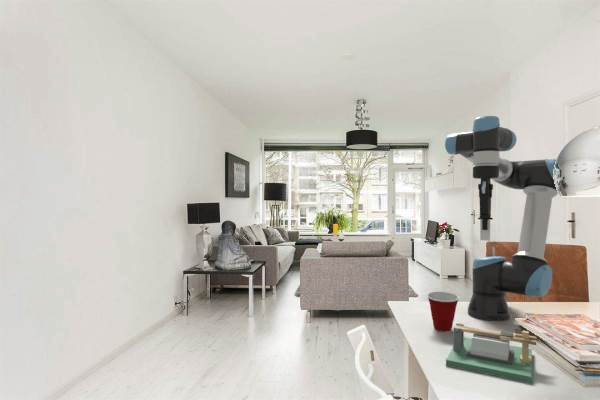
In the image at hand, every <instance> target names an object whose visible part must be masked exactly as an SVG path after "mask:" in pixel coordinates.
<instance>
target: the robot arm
mask: <svg viewBox="0 0 600 400" xmlns="http://www.w3.org/2000/svg"><path fill="white" fill-rule="evenodd" d="M516 143H517V135H516V133H515V132H514V131H513V130H511V129H509V128H506V127H502V126H501V124H500V118H499V117H498V116H496V115H484V116H478V117H476V118H475V119H474V120H473V127H472V131H465V132H455V133H451V134H448V135H447V136H446V137H445V142H444V146H445V150H446V153H448V154H449V155H455V156H456V155H457V156H458V155H460V156H462V157H464V158H465V159H467V160H468V161H470V162H471V163H472V165H473V167H472V178H473V179H475V180H476V179H478V180H480V183H478V185H477V188H478V197H479V217H477V220H480V223H479V224H480V226H479V227H480V228H479V229H480V230H479V234H480V236H479V240H480V241H489V242H490V241H491V220H493V217H492V214H491V213H492V198H493V190H494V185H493V183H492V182H491V180H492V181H494V182H495V183H497V184H499V185H502V186H503V187H506V188H509V189H514V190H522V191H523V193H524V194H525V195H526V197H525V198H526V199H525V203H524V204H525V205H524V210H523V211H524V212H523V216H522V217H523V218H522V223H521V229H520V234H519V242H518V246H517V247H518V248H517V252H516V253H514V254H512V255H511V256H512V257H511V260H510V261H507V258H506V257H505V256H497V255H496V257H493V256H483V257H482V256H481V257H475V258H474V260H473V261H472V294H471V298H470V300H469V303H468V306H467V314H468V315H469V316H471V317H473V318H477V319H481V320H485V321H495V322H496V321H498V322H503V321H508V320H510V319H511V311H510V307H509V305H508V302H507V298H506V299H505V292H506V293H509V294H510V293H511V294H517V295H523V296H527V297H537V298H542V297H544V296H545V295H547V293H548V292H549V290H550V288H551V287H552V284H553V283H552V281H553V268H552V267H551V266H550V265H548V264H549V263H548V260H547V259H546V258H545V257H544V256H545V249H546V245H547V236H548V231H549V229H548V228H549V223H550V218H551V217H550V216H551V208H552V201H553V198H555V197H556V196H558V194H559V191H558V192H557V190H556V187H555V184H554V179H553V169H554V165H555V161H556V158H552V159H551V158H549V159H548V158H546V159H535V160H516V161H515V160H514V161H511V160H508V159H506V158H502V157H500V152H509V151H510V150H512V149H513V148H515V146H516Z"/></svg>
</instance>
